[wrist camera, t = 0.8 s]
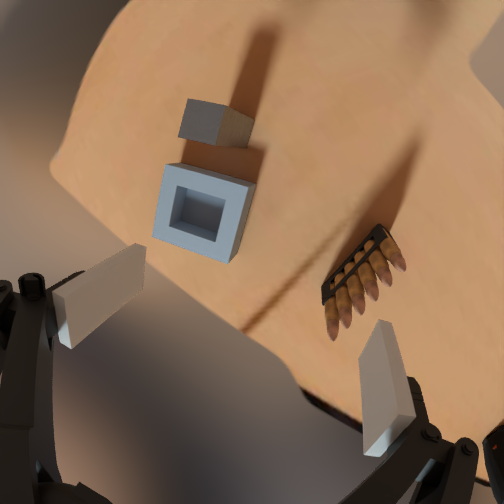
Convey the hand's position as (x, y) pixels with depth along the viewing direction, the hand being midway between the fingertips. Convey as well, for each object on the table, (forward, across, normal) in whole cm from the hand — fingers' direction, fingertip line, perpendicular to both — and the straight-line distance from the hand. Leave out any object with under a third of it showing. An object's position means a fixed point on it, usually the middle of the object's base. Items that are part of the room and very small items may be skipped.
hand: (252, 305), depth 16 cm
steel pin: (+21, -9, +8) cm, 25 cm away
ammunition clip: (+22, +9, -3) cm, 23 cm away
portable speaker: (+21, +58, -30) cm, 68 cm away
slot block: (+21, -10, -2) cm, 24 cm away
